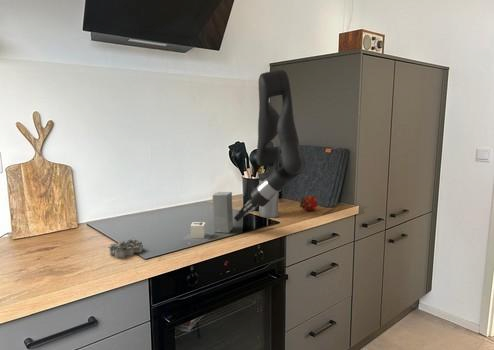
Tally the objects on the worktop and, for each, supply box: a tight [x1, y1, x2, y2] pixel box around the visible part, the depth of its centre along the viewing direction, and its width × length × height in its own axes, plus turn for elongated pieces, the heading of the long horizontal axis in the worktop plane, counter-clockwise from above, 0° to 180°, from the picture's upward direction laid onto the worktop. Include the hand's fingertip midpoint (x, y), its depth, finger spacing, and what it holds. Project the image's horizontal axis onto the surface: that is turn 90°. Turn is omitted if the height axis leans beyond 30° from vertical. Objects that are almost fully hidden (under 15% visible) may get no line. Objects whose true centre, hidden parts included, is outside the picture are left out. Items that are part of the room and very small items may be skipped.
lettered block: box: [190, 221, 206, 238], centre depth 143 cm, size 5×5×5 cm
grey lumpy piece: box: [107, 237, 145, 259], centre depth 125 cm, size 11×8×4 cm
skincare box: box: [212, 191, 234, 234], centre depth 150 cm, size 8×7×16 cm
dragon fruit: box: [299, 195, 319, 212], centre depth 185 cm, size 8×8×12 cm
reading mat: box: [181, 231, 215, 242], centre depth 143 cm, size 10×10×1 cm
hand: (236, 219), depth 149 cm, fingers closed
